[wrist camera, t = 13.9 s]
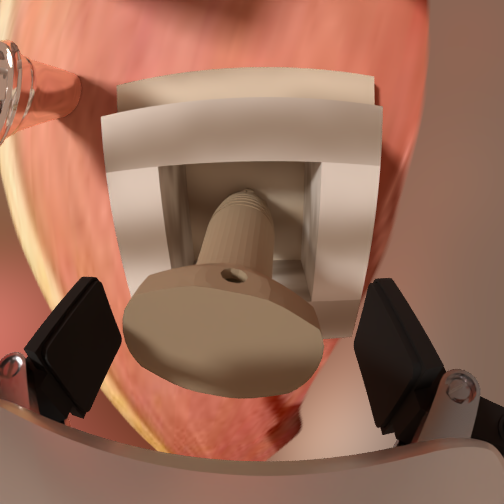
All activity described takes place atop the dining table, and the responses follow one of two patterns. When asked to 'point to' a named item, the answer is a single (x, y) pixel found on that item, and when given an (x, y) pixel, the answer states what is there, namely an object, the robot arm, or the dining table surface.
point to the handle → (226, 313)
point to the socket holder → (250, 173)
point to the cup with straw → (32, 91)
